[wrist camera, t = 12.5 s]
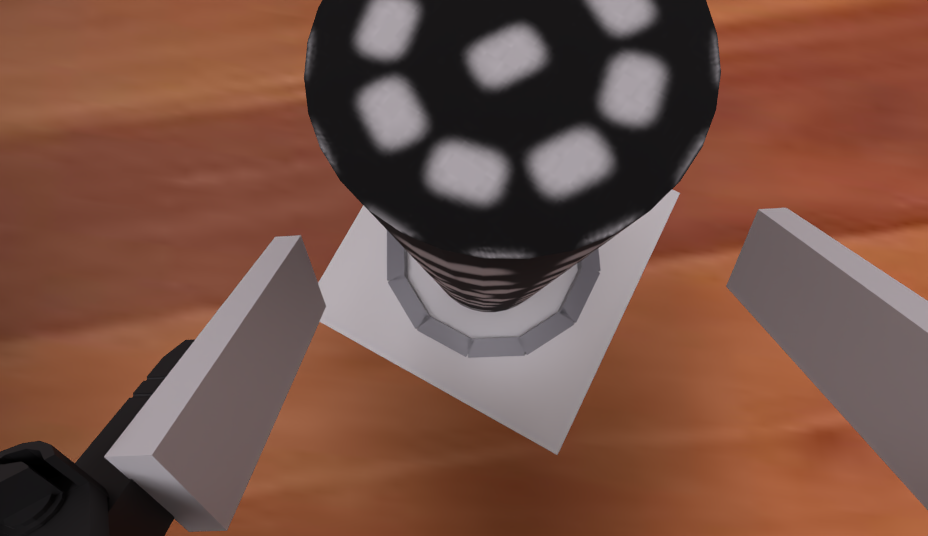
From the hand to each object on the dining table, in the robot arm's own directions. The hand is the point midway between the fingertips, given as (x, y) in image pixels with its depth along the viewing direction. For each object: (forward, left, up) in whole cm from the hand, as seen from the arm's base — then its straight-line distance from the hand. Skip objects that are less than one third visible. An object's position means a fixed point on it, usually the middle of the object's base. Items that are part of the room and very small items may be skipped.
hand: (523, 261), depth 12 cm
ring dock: (-2, +3, -16) cm, 17 cm away
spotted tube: (-2, +3, -16) cm, 16 cm away
